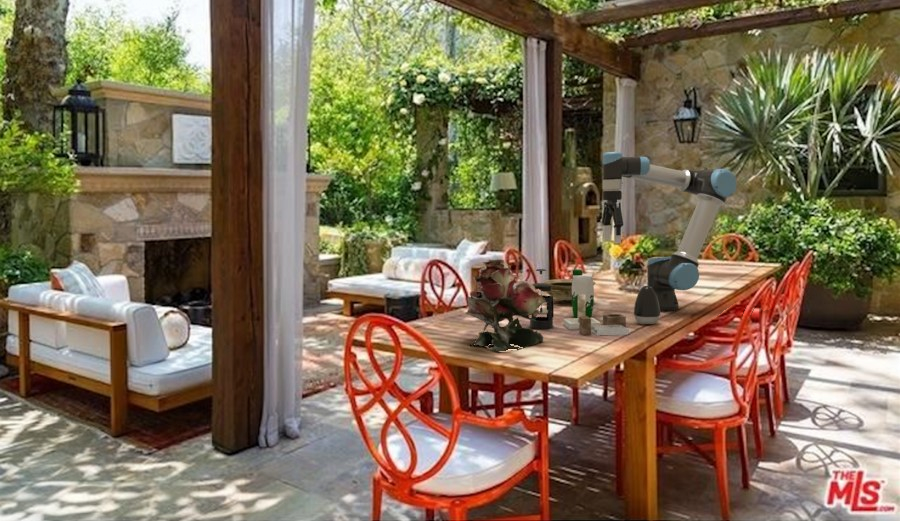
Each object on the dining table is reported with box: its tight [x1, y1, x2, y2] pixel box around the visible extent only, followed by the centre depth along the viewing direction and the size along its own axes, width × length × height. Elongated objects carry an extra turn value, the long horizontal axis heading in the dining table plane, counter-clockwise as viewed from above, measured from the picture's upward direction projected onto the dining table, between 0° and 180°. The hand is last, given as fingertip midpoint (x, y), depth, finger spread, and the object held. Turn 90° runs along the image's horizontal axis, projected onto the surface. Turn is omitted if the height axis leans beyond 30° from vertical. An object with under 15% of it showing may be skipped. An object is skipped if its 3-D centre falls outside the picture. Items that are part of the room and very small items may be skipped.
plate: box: [591, 324, 630, 337], centre depth 258 cm, size 12×9×2 cm
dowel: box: [578, 295, 585, 323], centre depth 269 cm, size 3×3×12 cm
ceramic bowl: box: [543, 278, 596, 305], centre depth 326 cm, size 30×24×10 cm
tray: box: [562, 317, 601, 331], centre depth 269 cm, size 12×10×2 cm
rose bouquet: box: [465, 258, 546, 352], centre depth 244 cm, size 26×29×30 cm
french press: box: [528, 268, 555, 330], centre depth 270 cm, size 12×9×23 cm
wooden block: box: [578, 316, 592, 336], centre depth 257 cm, size 3×5×6 cm, turn 5°
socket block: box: [602, 313, 627, 328], centre depth 270 cm, size 7×7×4 cm
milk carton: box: [571, 269, 595, 319], centre depth 289 cm, size 9×9×20 cm
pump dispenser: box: [633, 285, 661, 325], centre depth 273 cm, size 10×10×15 cm
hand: (612, 242), depth 282 cm, fingers open, 13 cm apart
